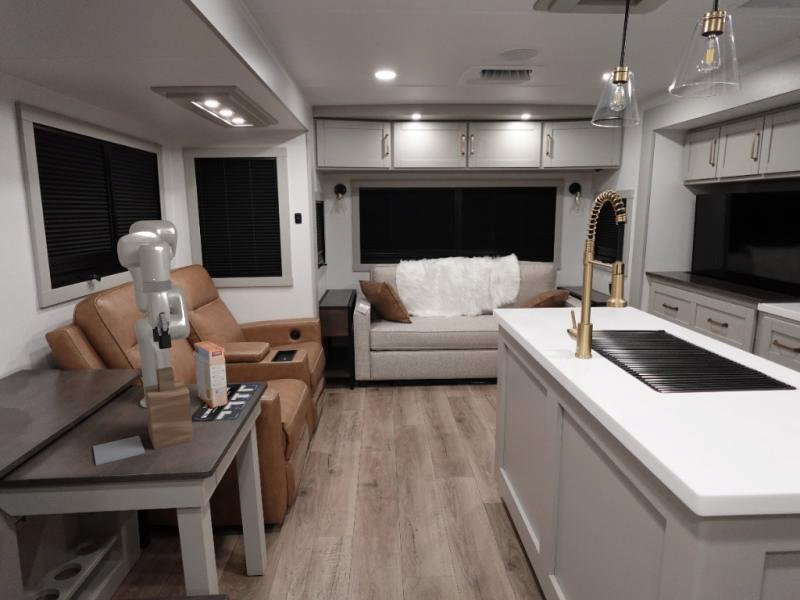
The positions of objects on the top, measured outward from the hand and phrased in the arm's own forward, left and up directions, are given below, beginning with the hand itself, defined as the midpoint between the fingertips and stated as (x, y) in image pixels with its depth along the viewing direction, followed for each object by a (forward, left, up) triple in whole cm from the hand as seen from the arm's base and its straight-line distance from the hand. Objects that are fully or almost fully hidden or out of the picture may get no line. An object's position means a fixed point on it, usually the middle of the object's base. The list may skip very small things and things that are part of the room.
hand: (162, 344), depth 146 cm
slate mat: (0, -14, -30) cm, 33 cm away
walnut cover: (0, 0, -30) cm, 30 cm away
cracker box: (-23, +18, -30) cm, 42 cm away
